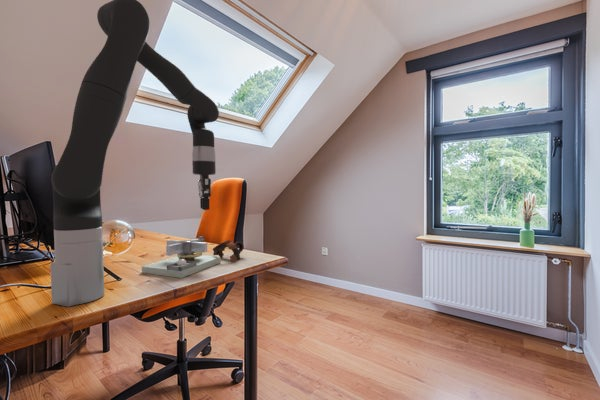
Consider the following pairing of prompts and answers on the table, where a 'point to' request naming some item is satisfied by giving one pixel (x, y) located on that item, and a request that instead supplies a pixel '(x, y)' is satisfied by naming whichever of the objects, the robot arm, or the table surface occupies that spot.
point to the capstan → (186, 248)
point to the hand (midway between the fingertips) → (204, 209)
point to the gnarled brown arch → (230, 245)
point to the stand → (173, 270)
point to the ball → (181, 262)
